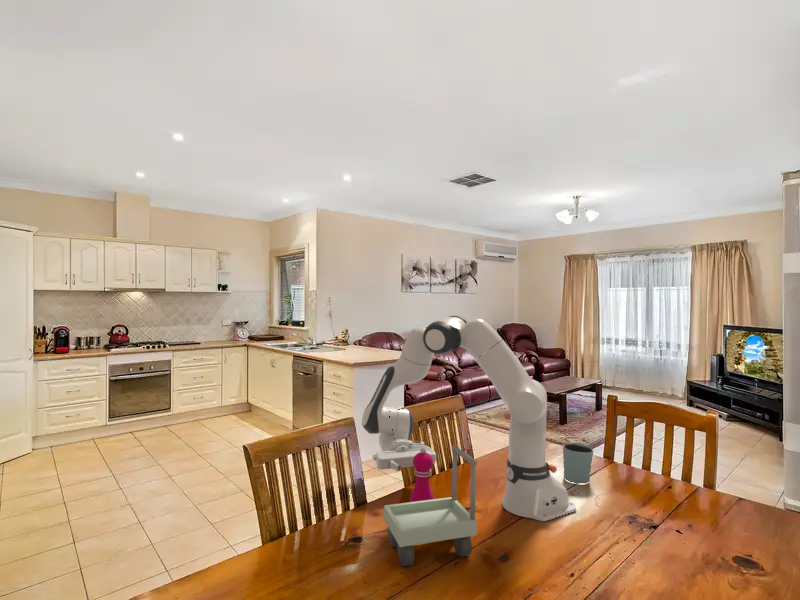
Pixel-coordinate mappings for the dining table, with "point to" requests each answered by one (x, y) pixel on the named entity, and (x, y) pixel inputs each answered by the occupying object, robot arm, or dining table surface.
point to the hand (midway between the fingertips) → (413, 467)
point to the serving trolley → (433, 519)
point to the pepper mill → (422, 477)
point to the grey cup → (577, 462)
